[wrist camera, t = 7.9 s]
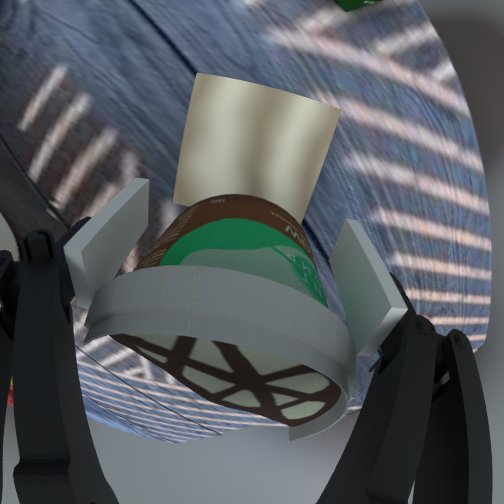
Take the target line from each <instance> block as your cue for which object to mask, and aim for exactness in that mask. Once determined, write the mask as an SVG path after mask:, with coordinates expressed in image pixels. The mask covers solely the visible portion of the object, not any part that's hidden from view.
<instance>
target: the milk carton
mask: <svg viewBox="0 0 504 504" xmlns="http://www.w3.org/2000/svg"><path fill="white" fill-rule="evenodd" d="M336 1H337V3H338V4H339V5H340V6H341V7H342V8H343V9H344V11H345V12H348V11H350V10H353V9H356V8H360V7H363V6H366V5H369V4H373V3H376V2H379V1H382V0H336Z"/></svg>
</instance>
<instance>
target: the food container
mask: <svg viewBox="0 0 504 504" xmlns="http://www.w3.org/2000/svg"><path fill="white" fill-rule="evenodd" d="M84 326H85V327H87V328H88V329H89V331H88V333H87V336H86V338H85V340H84V343H83V345H86V344H88V343H89V342H91V341H92V340H94V339H97V338H100V337H104V336H107V335H109V336H110V337H112V338H113V339H114V340H116V341H117V342H119V343H121V344H123V345H125V346H126V347H128V348H130V349H132V350H134V351H135V352H137V353H138V354H140V355H141V356H143V357H144V358H146V359H148V360H149V361H151V362H152V363H154V364H156V365H157V366H159V367H160V368H162V369H164V370H165V371H166V372H168V373H169V374H170V375H172V376H173V377H174V378H176V379H177V380H178V381H180V382H181V383H182V384H184V385H185V386H187V387H188V388H189V389H191V390H192V391H194V392H195V393H197V394H199V395H200V396H202V397H203V398H205V399H207V400H208V401H211V402H213V403H215V404H218V405H222V406H225V407H228V408H233V409H237V410H242V411H247V412H250V413H254V414H258V415H261V416H264V417H267V418H269V419H272V420H275V421H278V422H281V423H283V424H286V425H288V426H289V435H290V436H289V437H290V442H291V441H296V440H300V439H304V438H307V437H310V436H313V435H315V434H318V433H320V432H322V431H324V430H326V429H328V428H330V427H331V426H333V425H334V424H336V423H337V422H338V421H339V420H340V419H341V418H342V417H343V416H344V414H345V413H346V411H347V409H348V405H349V400H350V398H351V397H352V394H353V390H354V385H355V372H356V348H355V342H354V340H353V338H352V336H351V334H350V332H349V330H348V328H347V327H346V326H345V325H344V324H343V322H342V321H341V320H340V319H339V318H338V316H336V315H335V314H334V313H333V312H331V311H330V310H329V308H328V304H327V301H326V297H325V294H324V290H323V287H322V284H321V280H320V277H319V274H318V270H317V267H316V264H315V260H314V257H313V254H312V251H311V248H310V244H309V242H308V240H307V237H306V235H305V233H304V231H303V229H302V227H301V226H300V224H299V223H298V222H297V220H296V219H295V218H294V217H293V216H292V215H291V214H289V213H288V212H287V211H286V210H284V209H283V208H281V207H280V206H278V205H277V204H275V203H273V202H270V201H268V200H266V199H263V198H259V197H255V196H251V195H244V194H223V195H218V196H213V197H209V198H207V199H204V200H201V201H199V202H197V203H195V204H193V205H192V206H190V207H188V208H187V209H186V210H185V211H183V212H182V213H181V214H180V215H179V216H178V217H177V218H176V219H175V220H174V221H173V223H172V224H171V225H170V226H169V227H168V228H167V230H166V231H165V232H164V233H163V234H162V236H161V237H160V238H159V239H158V240H157V241H156V243H155V244H154V245H153V246H152V248H151V249H150V250H149V251H148V252H147V254H146V255H145V256H144V257H143V259H142V260H141V261H140V262H139V264H138V265H137V266H136V267H135V269H134V270H133V271H132V272H129V273H126V274H123V275H119V276H118V277H116V278H114V279H112V280H111V281H109V282H107V283H105V284H104V285H103V286H101V287H100V288H99V289H98V290H97V291H96V294H95V296H94V299H93V302H92V303H91V304H90V308H89V311H88V314H87V317H86V321H85V324H84Z"/></svg>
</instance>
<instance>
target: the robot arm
mask: <svg viewBox="0 0 504 504" xmlns="http://www.w3.org/2000/svg"><path fill="white" fill-rule="evenodd" d="M148 201H149V179H142V178H135V179H134V180H133V181H132V182H130V183H129V184H128V185H127V186H126V187H125V188H123V189H122V190H121V191H120V192H119V193H118V194H117V195H116V196H114V197H113V198H112V199H111V200H110V201H109V202H108V203H107V204H106V205H105V206H104V207H102V208H101V209H100V210H99V211H98V212H97V213H96V214H95V215H94V216H93V217H85V218H84V219H82V220H80V221H78V222H77V223H76V224H75V225H74V226H73V227H72V228H71V229H70V230H69V231H68V232H67V233H66V234H65V235H64V236H63V237H62V238H61V239H60V240H59V241H58V242H57V243H56V244H55V243H54V238H53V233H52V232H51V231H50V230H46V229H39V230H35V231H32V232H30V233H28V234H27V235H25V236H24V237H23V238H22V240H21V246H22V250H23V254H24V257H25V260H26V261H14V260H13V257H12V254H11V252H9V251H7V250H0V304H1V309H0V504H1V501H2V489H3V480H2V479H3V470H2V469H3V468H2V467H3V465H2V464H3V463H2V462H3V459H2V457H3V437H4V425H5V416H6V408H7V401H8V395H9V389H10V384H11V379H12V383H13V406H14V418H15V427H16V435H17V442H18V448H19V454H20V461H19V463H18V464H17V465H16V467H15V468H14V472H13V477H14V484H15V488H16V492H17V495H18V499H19V502H20V504H119V502H118V500H117V498H116V496H115V494H114V492H113V490H112V488H111V487H110V485H109V484H108V482H107V481H106V479H105V477H104V475H103V472H102V469H101V466H100V463H99V460H98V457H97V454H96V451H95V447H94V444H93V440H92V437H91V434H90V429H89V425H88V421H87V417H86V412H85V408H84V403H83V398H82V393H81V387H80V381H79V375H78V368H77V361H76V352H75V343H74V331H73V315H72V307H71V304H70V302H71V301H72V299H73V298H74V296H75V297H76V301H77V304H78V306H79V307H82V308H85V309H88V310H89V308H90V304H91V303H92V302H93V299H94V296H95V294H96V291H97V290H98V289H99V288H100V287H101V286H103V285H104V284H105V283H107V282H109V281H111V280H112V279H113V278H114V277H115V275H116V274H117V272H118V270H119V269H120V267H121V266H122V264H123V262H124V261H125V259H126V258H127V256H128V255H129V253H130V252H131V250H132V249H133V247H134V246H135V244H136V243H137V241H138V240H139V238H140V237H141V235H142V234H143V233H144V231H145V230H146V228H147V227H148ZM329 262H330V265H331V268H332V272H333V275H334V278H335V281H336V284H337V287H338V290H339V293H340V297H341V300H342V303H343V307H344V310H345V313H346V317H347V320H348V324H349V327H350V331H351V334H352V338H353V340H354V342H355V348H356V353H357V355H358V356H373V355H374V354H375V353H376V351H377V350H378V349H379V348H380V347H381V350H382V355H381V356H380V358H379V359H378V360H377V361H376V362H375V364H374V365H373V366H372V367H371V368H370V370H369V372H371V371H372V370H373V369H375V371H374V374H373V377H372V380H371V383H370V386H369V389H368V392H367V395H366V398H365V400H364V403H363V406H362V409H361V411H360V414H359V416H358V419H357V421H356V424H355V427H354V429H353V431H352V434H351V436H350V438H349V441H348V443H347V445H346V447H345V450H344V452H343V454H342V456H341V458H340V460H339V462H338V464H337V466H336V468H335V470H334V472H333V474H332V476H331V478H330V480H329V482H328V484H327V485H326V487H325V489H324V491H323V493H322V494H321V496H320V498H319V500H318V501H317V503H316V504H408V498H409V495H410V492H411V489H412V486H413V483H414V480H415V485H414V494H413V502H412V504H492V453H491V442H490V432H489V424H488V417H487V411H486V405H485V400H484V394H483V390H482V385H481V381H480V377H479V372H478V369H477V365H476V361H475V357H474V354H473V350H472V347H471V344H470V342H469V339H468V338H467V337H466V335H465V334H463V332H461V331H459V330H457V329H453V330H451V331H450V332H449V333H448V335H447V336H446V337H445V336H443V335H440V334H437V333H436V330H435V328H434V326H433V324H432V323H431V322H430V321H429V320H428V319H427V318H425V317H423V316H421V315H417V314H416V312H415V310H414V308H413V306H412V304H411V302H410V300H409V298H408V297H407V296H406V293H405V291H404V290H403V287H402V286H401V284H400V282H399V280H398V279H397V278H396V277H395V276H394V275H393V274H392V273H390V272H388V270H387V268H386V267H385V265H384V263H383V261H382V260H381V258H380V256H379V254H378V253H377V251H376V249H375V248H374V246H373V244H372V243H371V241H370V239H369V238H368V236H367V234H366V233H365V231H364V230H363V228H362V226H361V225H360V223H359V222H358V221H355V220H351V219H348V218H346V219H345V221H344V224H343V227H342V229H341V232H340V234H339V237H338V239H337V241H336V244H335V246H334V249H333V251H332V254H331V256H330V258H329ZM448 373H449V377H450V379H449V381H447V382H446V383H445V384H443V381H442V379H443V378H444V377H445V376H446V375H447V374H448Z"/></svg>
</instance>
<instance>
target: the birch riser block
mask: <svg viewBox="0 0 504 504" xmlns="http://www.w3.org/2000/svg"><path fill="white" fill-rule="evenodd" d="M340 113H341V110H340V109H338V108H335V107H332V106H329V105H327V104H324V103H321V102H318V101H315V100H312V99H309V98H306V97H303V96H299V95H296V94H293V93H289V92H286V91H282V90H279V89H275V88H271V87H267V86H263V85H259V84H255V83H251V82H246V81H242V80H237V79H232V78H227V77H221V76H215V75H209V74H203V73H197V75H196V79H195V83H194V87H193V91H192V96H191V100H190V105H189V110H188V114H187V119H186V124H185V129H184V135H183V140H182V146H181V151H180V157H179V163H178V170H177V176H176V183H175V190H174V197H173V203H175V204H180V205H184V206H189V207H190V206H192V205H193V204H195V203H197V202H199V201H201V200H204V199H207V198H209V197H213V196H218V195H223V194H244V195H251V196H255V197H259V198H263V199H266V200H268V201H270V202H273V203H275V204H277V205H278V206H280V207H281V208H283V209H284V210H286V211H287V212H288V213H289V214H291V215H292V216H293V217H294V218H295V219H296V220H297V222H298V223H299V224H300V226H301V223H302V220H303V218H304V215H305V212H306V210H307V207H308V204H309V202H310V199H311V196H312V194H313V191H314V188H315V185H316V183H317V180H318V177H319V174H320V171H321V169H322V166H323V163H324V160H325V157H326V154H327V151H328V149H329V146H330V143H331V140H332V137H333V134H334V131H335V128H336V125H337V122H338V119H339V116H340Z"/></svg>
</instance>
